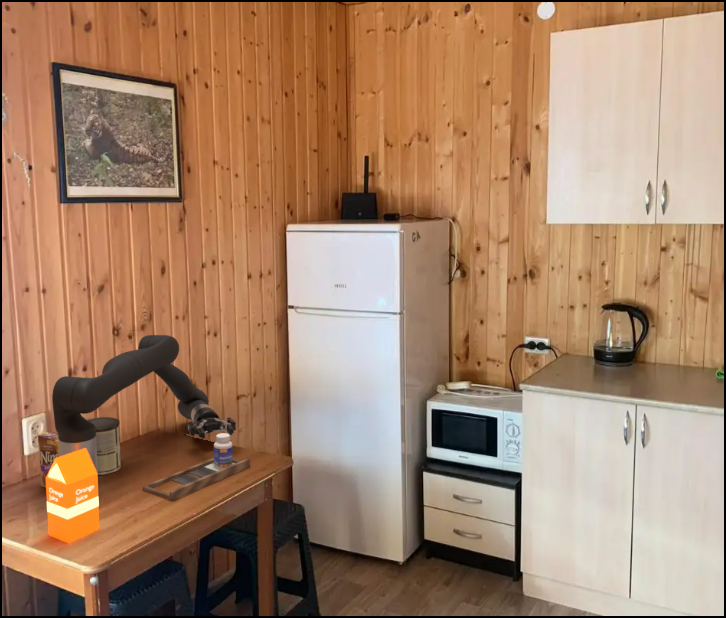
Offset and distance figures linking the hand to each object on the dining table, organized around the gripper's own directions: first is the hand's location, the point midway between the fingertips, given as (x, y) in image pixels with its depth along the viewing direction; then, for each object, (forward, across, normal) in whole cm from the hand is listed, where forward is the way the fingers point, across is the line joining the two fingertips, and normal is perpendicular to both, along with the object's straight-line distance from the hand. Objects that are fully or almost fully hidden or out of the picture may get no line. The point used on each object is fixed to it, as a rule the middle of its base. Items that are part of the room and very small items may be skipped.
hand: (217, 433), depth 224 cm
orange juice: (+34, -44, +8) cm, 56 cm away
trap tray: (+13, -9, +8) cm, 17 cm away
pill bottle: (+8, 0, +8) cm, 11 cm away
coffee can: (-5, -33, +8) cm, 34 cm away
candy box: (+5, -46, +8) cm, 47 cm away
